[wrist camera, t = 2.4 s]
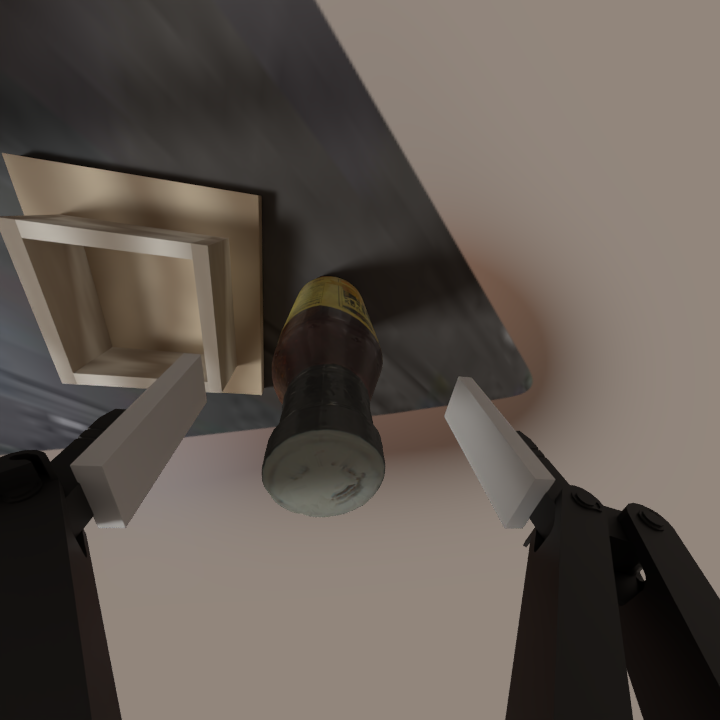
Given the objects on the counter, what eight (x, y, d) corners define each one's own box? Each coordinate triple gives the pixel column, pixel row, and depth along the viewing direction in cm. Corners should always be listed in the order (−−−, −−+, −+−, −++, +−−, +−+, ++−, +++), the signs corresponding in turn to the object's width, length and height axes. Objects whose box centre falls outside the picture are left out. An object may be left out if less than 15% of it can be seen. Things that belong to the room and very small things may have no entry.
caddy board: (94, 377, 28) (43, 415, 23) (19, 155, 19) (-87, 139, 14) (264, 388, 30) (251, 424, 25) (261, 195, 22) (242, 193, 17)
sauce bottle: (368, 327, 28) (432, 525, 11) (307, 342, 28) (274, 561, 11) (353, 260, 25) (412, 389, 8) (285, 277, 25) (189, 442, 8)
